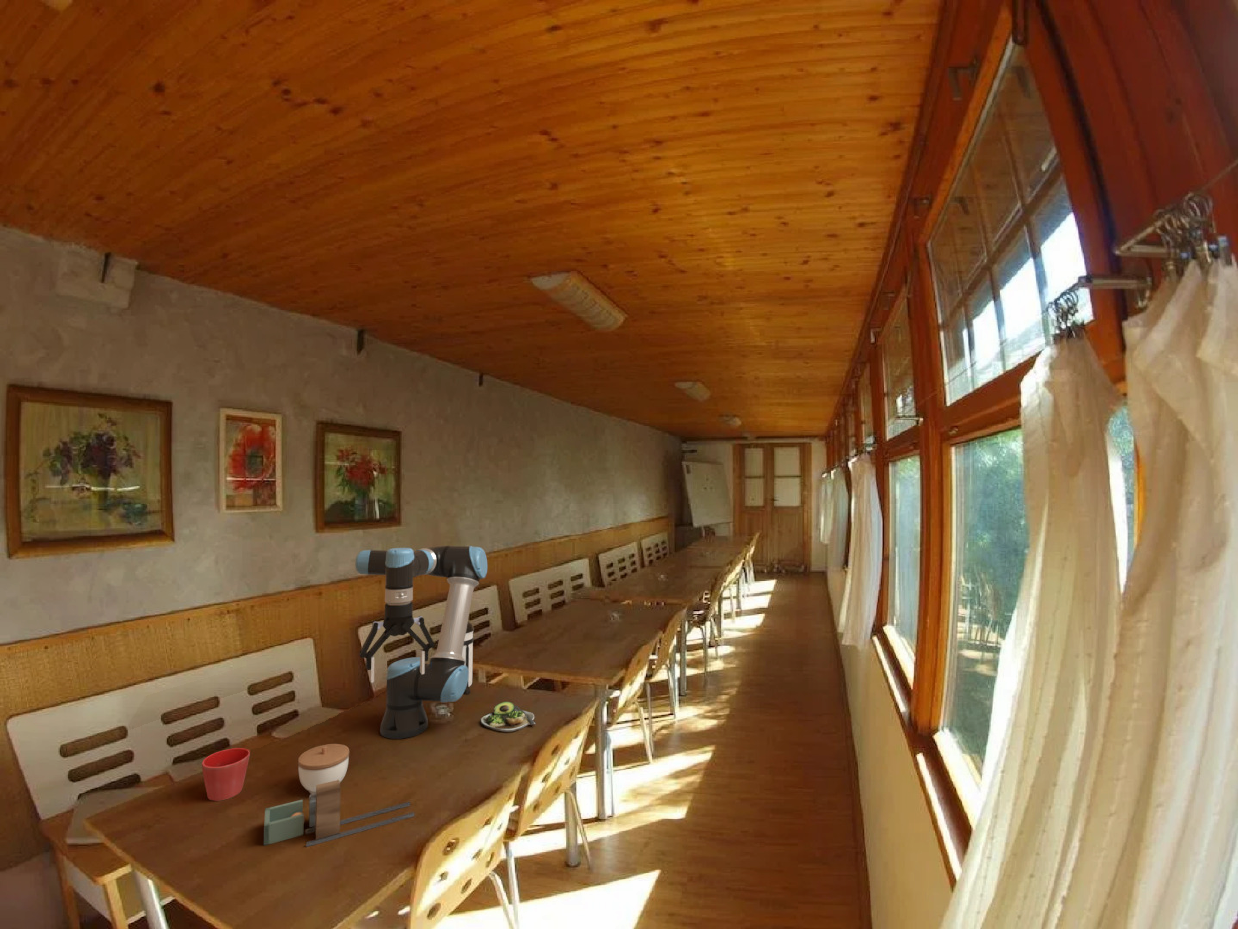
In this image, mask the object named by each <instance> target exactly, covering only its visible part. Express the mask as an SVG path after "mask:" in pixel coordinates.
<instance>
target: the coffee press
mask: <svg viewBox="0 0 1238 929" xmlns="http://www.w3.org/2000/svg"><path fill="white" fill-rule="evenodd" d="M474 630H475V627H474V626H473V623H472V622H470V621H468V623H467V629H466V634H465V640H464V645H463V651H462V657H463V659H464V660H465V664H464V665H465V666H467V667H468V670H469V673H468V675H469V678H468V683H467V686H466V689H465V691H464V693H465V695H469V694H470V693H471V690H470V687H471V686H472V685H473V664H474V662H473V661H474V660H473V659H474V658H473V657H474V656H473V655H474V654H473V651H474V646H473V645H474Z"/></svg>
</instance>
